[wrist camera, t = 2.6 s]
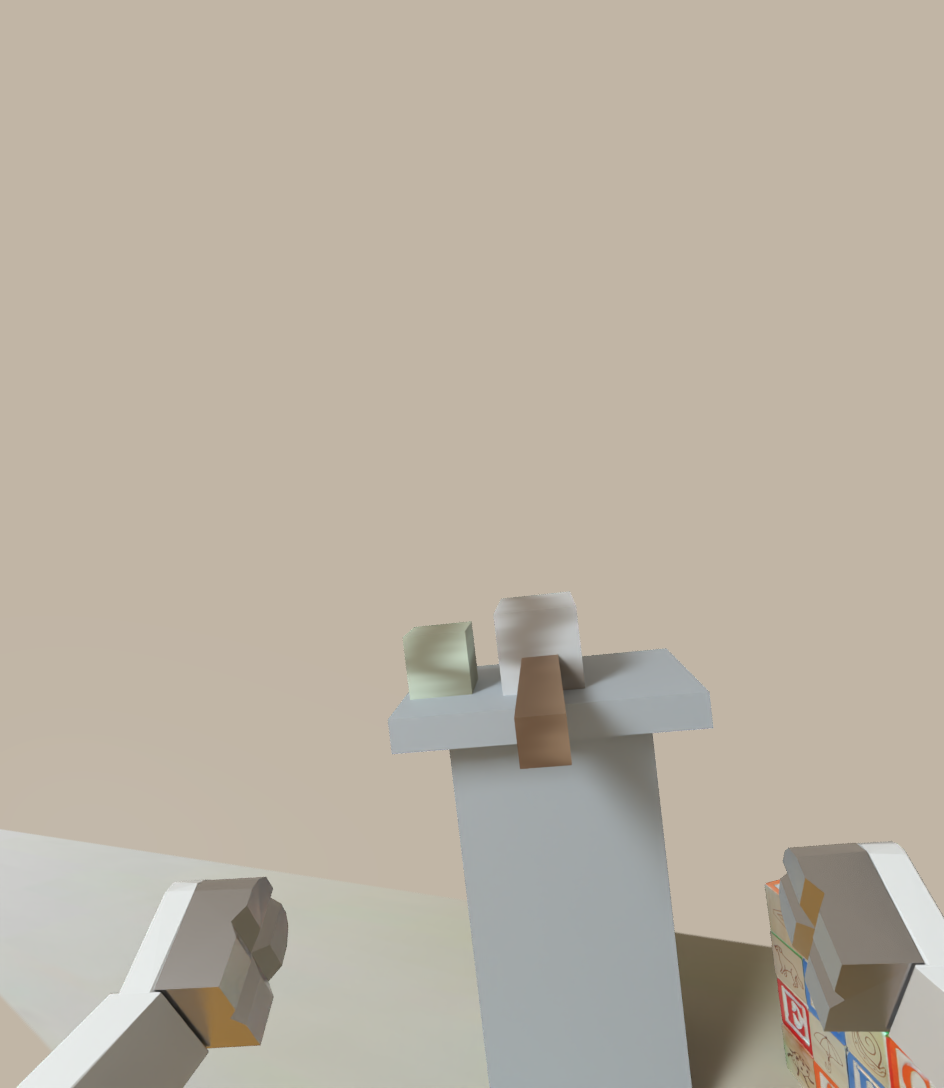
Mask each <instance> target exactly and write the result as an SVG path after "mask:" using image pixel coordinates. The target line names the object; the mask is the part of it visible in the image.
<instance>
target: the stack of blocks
mask: <svg viewBox="0 0 944 1088" xmlns="http://www.w3.org/2000/svg"><path fill="white" fill-rule="evenodd" d="M779 885H780V880H776V881H772V882H769V883H766V884H765V891H766V898H767V906H768V913H769V919H770V927H771V931H770V934H771V941H772V950H773V960H774V967H775V973H776V975H777V982H778V992H779V999H780V1006H781V1013H782V1020H783V1023H782V1032H783V1040H784V1047H785V1054H786V1061H787V1067H788V1069H789V1070H790V1071H791V1073H792V1074H793V1075H794V1076H795V1077H796V1079H797V1080H798V1081H799V1082H800V1084H801V1085H802V1086H803V1087H804V1088H936V1086H935V1085H934V1084H933V1083H932V1082H931V1081H930V1080H929V1079H928V1078H927V1077H926V1076H925V1075H924V1073H923V1072H922V1071H921V1070H920V1069H919V1068H918V1067H917V1066H916V1065H915V1064H914V1063H913V1062H912V1061H911V1059H910V1058H909V1057H908V1056H907V1055H906V1054H905V1053H904V1052H903V1051H902V1050H901V1049H900V1048H899V1046H898V1045H897V1044H896V1043H895V1042H894V1041H893V1040H892V1039H891V1038H890V1037H889V1036H888V1035H889V1032H824V1031H823V1028H822V1025H821V1023H820V1020H819V1017H818V1015H817V1012H816V1009H815V1007H814V1004H813V1001H812V999H811V996H810V993H809V991H808V988H807V985H806V983H805V980H804V978H805V973H806V968H807V963H808V960H807V959H806V958H805V957H803V956H802V955H801V954H800V953H799V952H798V951H797V950H796V949H795V948H794V947H793V946H792V944H791V941H790V939H789V936H788V933H787V930H786V927H785V924H784V920H783V916H782V913H781V907H780V899H779Z"/></svg>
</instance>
